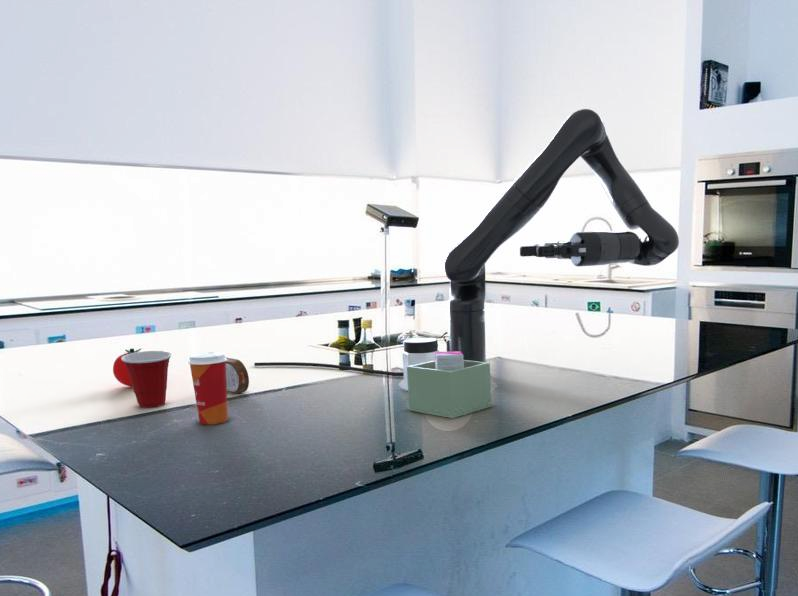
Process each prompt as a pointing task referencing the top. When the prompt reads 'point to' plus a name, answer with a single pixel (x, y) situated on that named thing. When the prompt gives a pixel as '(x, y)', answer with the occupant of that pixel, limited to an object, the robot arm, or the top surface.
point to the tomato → (122, 369)
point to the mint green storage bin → (449, 389)
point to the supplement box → (449, 361)
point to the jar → (418, 353)
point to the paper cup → (210, 386)
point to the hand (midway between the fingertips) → (528, 251)
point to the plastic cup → (148, 376)
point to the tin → (236, 376)
